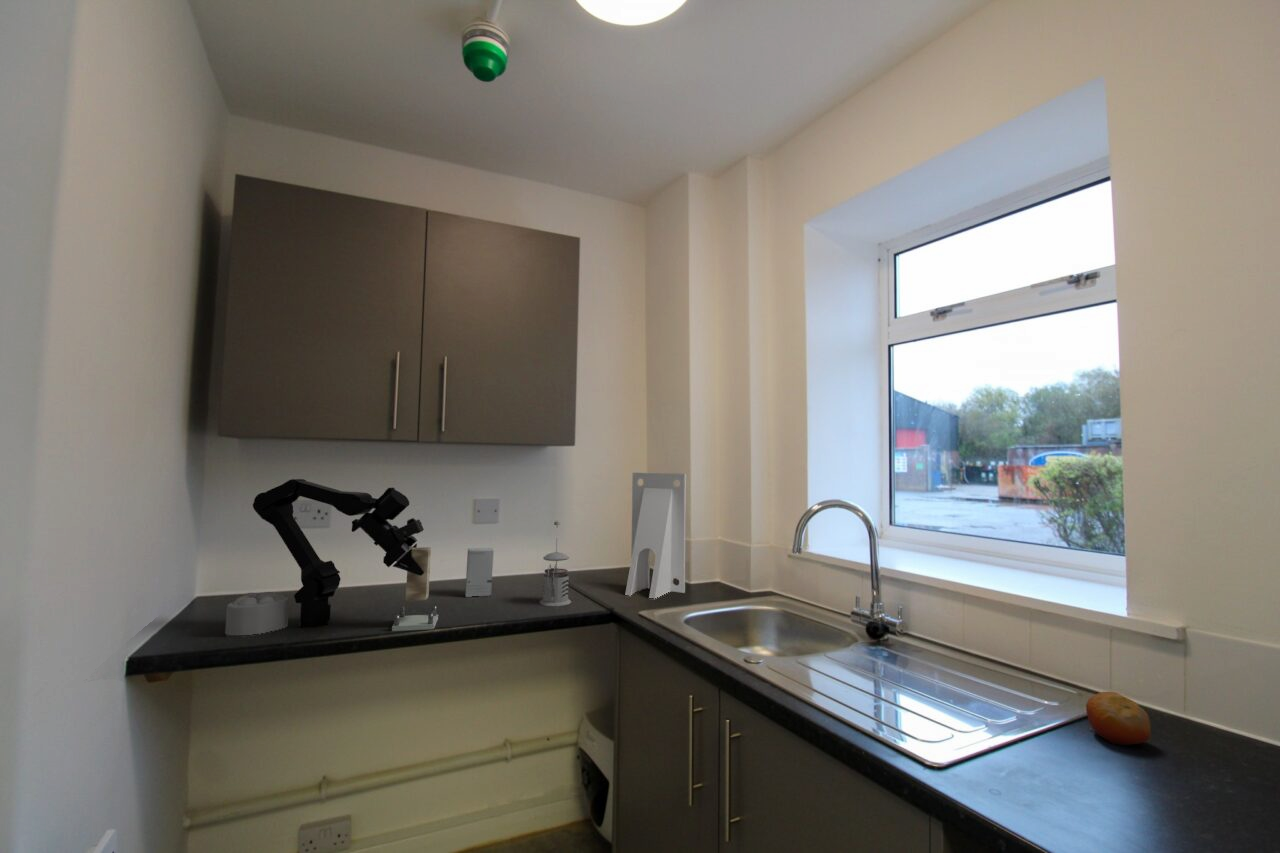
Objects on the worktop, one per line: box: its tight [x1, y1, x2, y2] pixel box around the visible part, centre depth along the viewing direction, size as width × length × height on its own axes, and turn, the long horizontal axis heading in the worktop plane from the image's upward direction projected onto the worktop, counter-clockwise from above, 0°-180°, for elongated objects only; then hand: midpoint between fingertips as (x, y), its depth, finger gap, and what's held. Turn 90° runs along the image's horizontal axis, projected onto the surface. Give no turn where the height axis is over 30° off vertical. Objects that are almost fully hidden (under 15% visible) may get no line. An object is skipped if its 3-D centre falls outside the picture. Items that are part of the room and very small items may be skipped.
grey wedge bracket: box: [624, 472, 687, 600], centre depth 194 cm, size 20×14×40 cm
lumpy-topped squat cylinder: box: [224, 591, 290, 636], centre depth 147 cm, size 10×13×9 cm
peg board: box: [391, 604, 439, 632], centre depth 153 cm, size 10×10×4 cm
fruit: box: [1085, 691, 1152, 746], centre depth 93 cm, size 8×8×8 cm
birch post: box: [405, 546, 432, 602], centre depth 154 cm, size 5×5×13 cm
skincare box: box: [464, 547, 495, 598], centre depth 188 cm, size 8×6×15 cm
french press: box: [539, 520, 572, 607], centre depth 179 cm, size 10×12×25 cm
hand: (423, 572), depth 154 cm, fingers closed on birch post, 5 cm apart
